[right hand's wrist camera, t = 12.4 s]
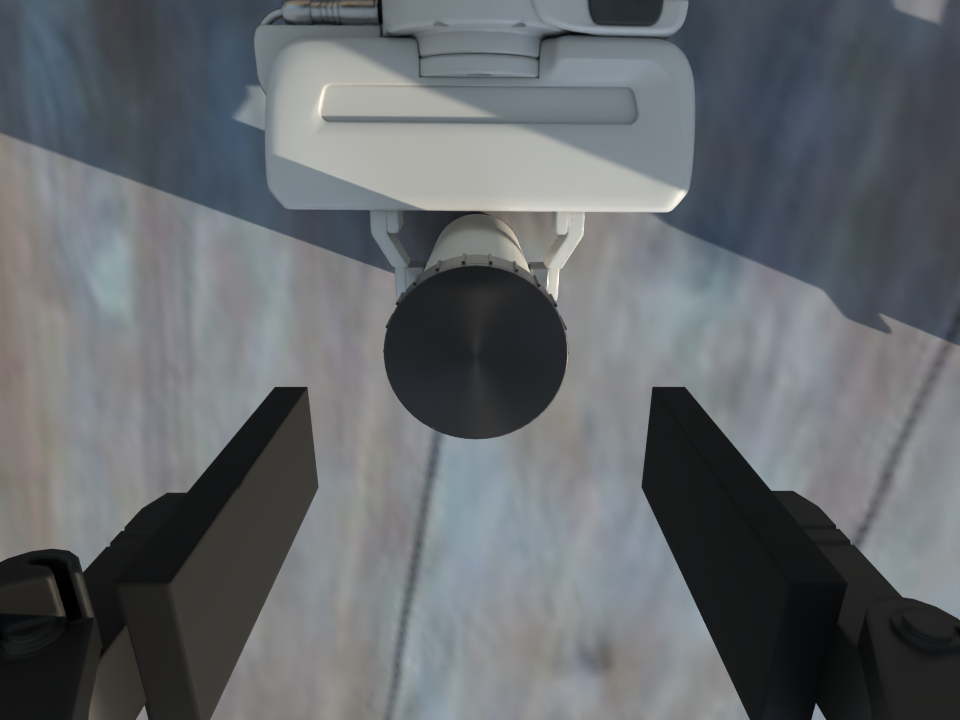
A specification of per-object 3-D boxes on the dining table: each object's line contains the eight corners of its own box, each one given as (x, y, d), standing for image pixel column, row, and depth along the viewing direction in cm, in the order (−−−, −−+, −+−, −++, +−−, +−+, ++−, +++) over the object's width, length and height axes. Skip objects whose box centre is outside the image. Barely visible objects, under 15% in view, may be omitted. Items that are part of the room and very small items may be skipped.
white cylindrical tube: (440, 305, 39) (411, 432, 22) (427, 219, 37) (382, 285, 20) (525, 294, 38) (562, 414, 21) (515, 208, 36) (548, 263, 19)
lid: (406, 425, 23) (400, 451, 21) (375, 264, 21) (365, 276, 19) (568, 406, 23) (576, 430, 21) (554, 240, 21) (561, 250, 19)
